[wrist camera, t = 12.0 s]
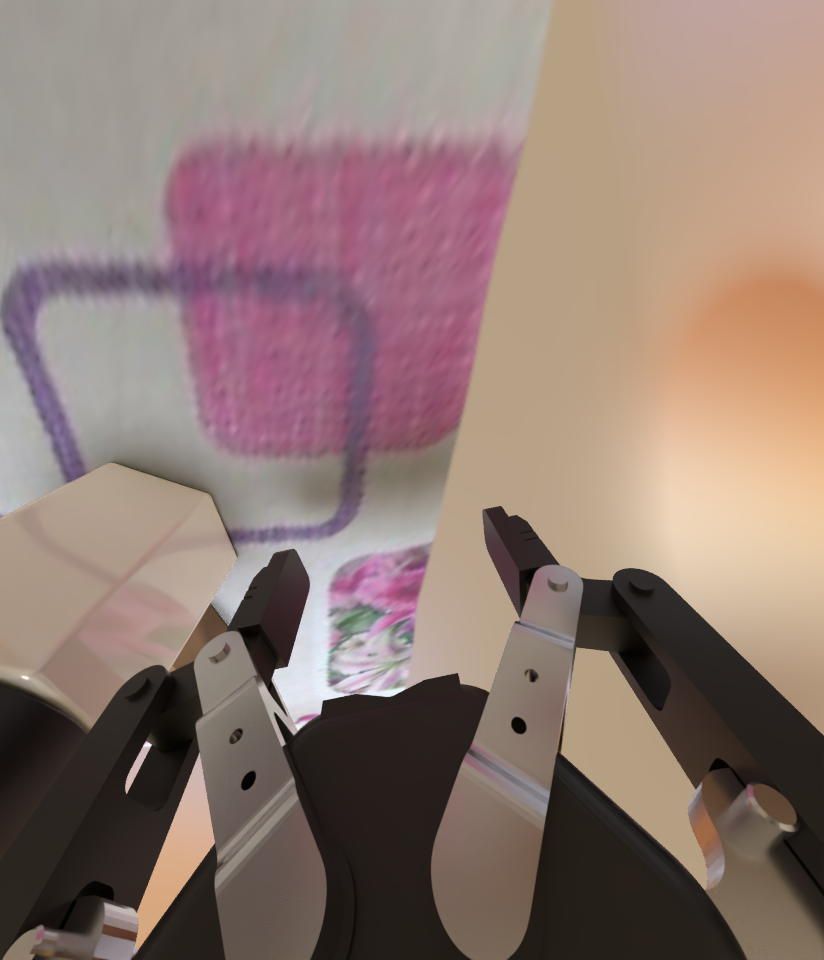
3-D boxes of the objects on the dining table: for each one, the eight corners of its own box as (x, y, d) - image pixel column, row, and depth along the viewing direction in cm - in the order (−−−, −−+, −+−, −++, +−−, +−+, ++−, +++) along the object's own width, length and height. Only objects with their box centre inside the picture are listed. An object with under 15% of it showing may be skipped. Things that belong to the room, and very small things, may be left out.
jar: (56, 562, 17) (-485, 959, 6) (57, 439, 14) (-985, 811, 3) (223, 600, 19) (39, 928, 9) (255, 504, 16) (31, 830, 6)
